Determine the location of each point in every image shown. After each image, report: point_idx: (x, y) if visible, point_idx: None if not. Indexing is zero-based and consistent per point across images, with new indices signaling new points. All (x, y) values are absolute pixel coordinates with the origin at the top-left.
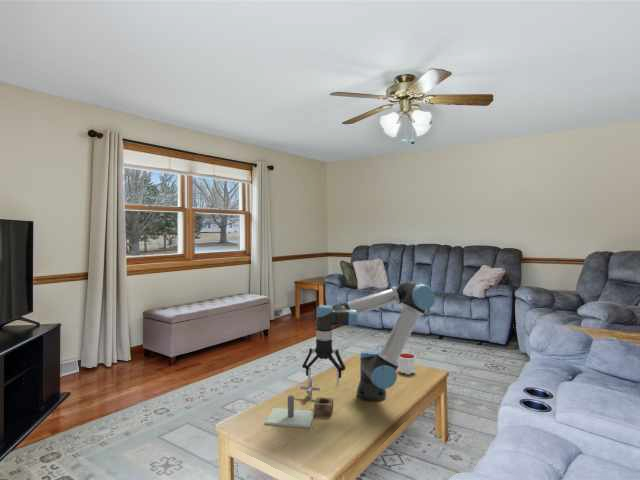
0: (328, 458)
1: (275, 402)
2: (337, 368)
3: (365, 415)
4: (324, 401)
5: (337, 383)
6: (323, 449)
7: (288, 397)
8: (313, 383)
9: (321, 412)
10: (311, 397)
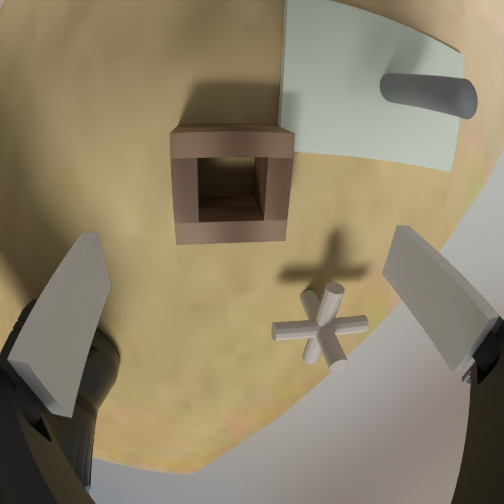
0: None
1: (434, 232)
2: (7, 416)
3: (26, 183)
4: (231, 215)
5: (81, 245)
6: None
7: (474, 89)
8: (307, 362)
9: (237, 126)
10: (303, 295)
